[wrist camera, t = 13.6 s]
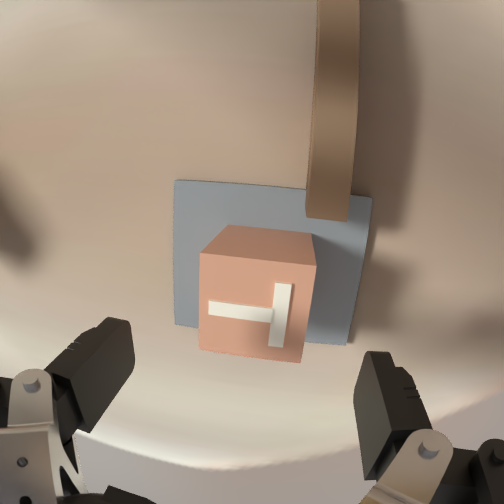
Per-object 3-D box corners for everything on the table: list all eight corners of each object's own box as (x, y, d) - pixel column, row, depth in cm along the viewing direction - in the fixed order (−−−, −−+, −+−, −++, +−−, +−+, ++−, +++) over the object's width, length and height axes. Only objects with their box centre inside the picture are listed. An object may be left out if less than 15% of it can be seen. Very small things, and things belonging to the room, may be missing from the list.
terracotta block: (227, 224, 20) (198, 253, 14) (310, 233, 19) (316, 267, 13) (224, 299, 21) (197, 350, 15) (300, 308, 21) (300, 365, 15)
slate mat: (177, 179, 20) (174, 180, 19) (370, 197, 19) (372, 198, 18) (177, 320, 23) (174, 324, 22) (344, 341, 22) (345, 345, 21)
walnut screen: (317, -27, 15) (320, -59, 11) (348, -23, 14) (356, -54, 11) (304, 205, 19) (306, 217, 16) (337, 209, 19) (346, 222, 15)
